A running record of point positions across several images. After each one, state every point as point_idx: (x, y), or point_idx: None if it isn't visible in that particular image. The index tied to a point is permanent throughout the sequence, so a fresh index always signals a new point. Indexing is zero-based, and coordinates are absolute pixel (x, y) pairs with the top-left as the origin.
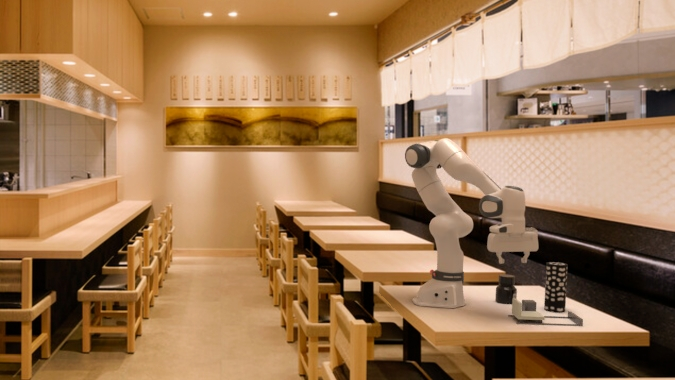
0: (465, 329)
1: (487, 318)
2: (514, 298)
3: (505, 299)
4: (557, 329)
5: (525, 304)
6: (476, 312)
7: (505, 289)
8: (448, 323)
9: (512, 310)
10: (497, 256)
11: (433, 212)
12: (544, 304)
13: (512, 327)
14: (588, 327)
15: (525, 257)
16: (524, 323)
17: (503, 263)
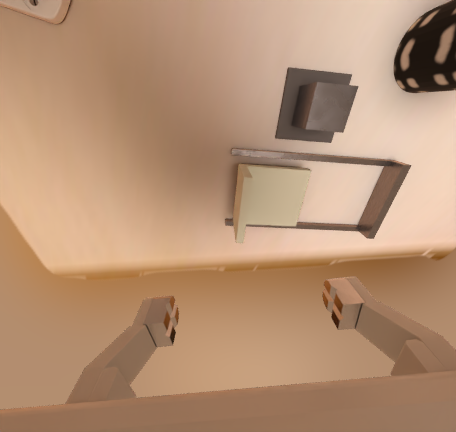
0: (106, 258)
1: (169, 167)
2: (248, 183)
3: None
4: (297, 246)
5: (303, 128)
6: (146, 89)
7: None
8: (65, 219)
9: (239, 170)
10: (110, 345)
11: None
12: (421, 31)
13: (209, 239)
14: None
15: (365, 334)
16: None
17: (175, 309)
